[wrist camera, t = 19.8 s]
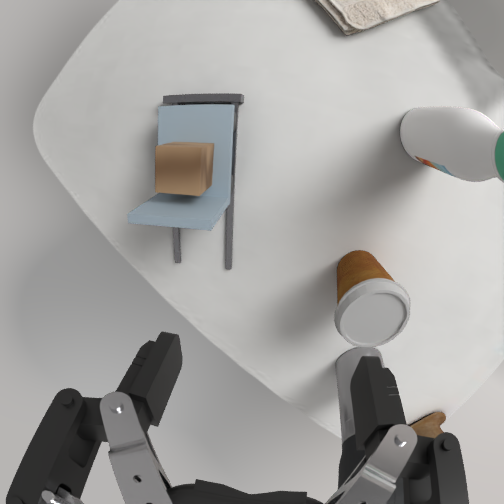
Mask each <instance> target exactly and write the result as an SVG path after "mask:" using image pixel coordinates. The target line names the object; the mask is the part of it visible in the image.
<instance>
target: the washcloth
mask: <svg viewBox="0 0 504 504" xmlns="http://www.w3.org/2000/svg"><path fill="white" fill-rule="evenodd" d="M315 1H316V2H317V3H318V4H319V5H320V6H321V7H322V8H323V9H324V10H325V11H326V12H327V14H328V15H329V16H330V17H331V19H332V20H333V21H334V22H335V23H336V24H337V25H338V27H339V28H340V29H341V30H342V31H343V32H344V34H345V35H350V34H354V33H356V32H361V31H362V30H366V29H370V28H373V27H375V26H378V25H380V24H383V23H385V22H387V21H390V20H392V19H395V18H398V17H400V16H403V15H406V14H408V13H411V12H413V11H416V10H419V9H422V8H426V7H429V6H431V5H434V4H436V3H438V2H439V1H440V0H315Z"/></svg>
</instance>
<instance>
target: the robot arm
mask: <svg viewBox="0 0 504 504" xmlns="http://www.w3.org/2000/svg"><path fill="white" fill-rule="evenodd" d="M181 367H182V352H181V345H180V338H179V335H177V334H172V333H166V332H161V333H160V335H159V336H158V338H157V340H156V342H154V341H150V340H149V341H148V342H147V343H146V344H144V345H143V346H142V347H141V348H140V350H139V351H138V353H137V355H136V358H134V360H133V362H132V365H130V367H129V369H128V371H127V372H126V374H125V376H124V378H123V380H122V381H121V383H120V385H119V387H118V388H117V390H116V391H115V392H112V393H109V394H107V395H105V396H104V397H103V398H88V397H82V396H81V394H80V393H79V392H78V391H77V390H75V389H72V388H67V389H63V390H61V391H60V392H58V393H57V395H56V396H55V398H54V400H53V401H52V403H51V405H50V407H49V408H48V410H47V412H46V414H45V416H44V418H43V419H42V421H41V423H40V425H39V427H38V429H37V431H36V433H35V435H34V437H33V439H32V441H31V442H30V445H29V447H28V449H27V451H26V453H25V455H24V457H23V459H22V461H21V463H20V466H19V468H18V470H17V472H16V475H15V477H14V479H13V482H12V484H11V487H10V489H9V491H8V494H7V497H6V504H84V503H83V502H82V501H81V500H80V497H81V495H82V492H83V489H84V486H85V483H86V481H87V478H88V475H89V473H90V470H91V467H92V465H93V462H94V460H95V457H96V454H97V452H98V449H99V447H100V444H101V442H102V441H103V442H108V443H109V446H110V451H109V452H108V453H109V459H110V462H111V465H112V468H113V471H114V474H115V477H116V480H117V483H118V486H119V488H120V491H121V493H122V496H123V499H124V501H125V504H323V503H322V502H320V501H317V500H316V499H313V498H310V497H307V492H288V491H276V492H269V493H261V494H247V493H244V492H241V491H239V490H236V489H234V488H231V487H228V486H225V485H223V484H218V483H213V482H207V481H203V480H198V479H196V482H195V484H183V485H179V486H175V487H172V486H171V484H170V481H169V479H168V478H167V476H166V474H165V472H164V470H163V468H162V466H161V464H160V462H159V459H158V457H157V455H156V452H155V450H154V448H153V445H152V443H151V440H150V438H149V435H148V433H147V431H148V429H149V426H150V425H154V426H158V425H159V423H160V420H161V418H162V415H163V412H164V410H165V407H166V405H167V402H168V400H169V397H170V395H171V392H172V390H173V388H174V385H175V383H176V380H177V378H178V375H179V373H180V370H181ZM336 376H337V387H338V397H339V408H340V421H341V433H342V456H341V459H340V464H339V481H338V490H337V491H336V492H335V493H334V494H333V495H332V496H331V498H330V499H329V500H328V501H327V502H326V503H325V504H469V500H468V491H467V483H466V476H465V470H464V464H463V459H462V454H461V449H460V444H459V441H458V439H457V438H456V437H455V436H454V435H453V434H451V433H448V432H445V433H441V434H439V435H438V436H437V437H436V438H431V437H425V436H420V435H417V434H416V433H415V431H414V430H413V429H412V428H411V427H410V426H408V425H407V424H406V420H405V416H404V412H403V407H402V403H401V399H400V395H399V392H398V388H397V384H396V380H395V377H394V375H393V374H392V372H391V371H390V370H389V369H388V368H385V366H384V363H383V359H382V356H381V353H380V352H379V351H378V350H376V349H375V348H372V347H371V348H369V347H358V348H354V349H351V350H349V351H347V352H346V353H344V354H343V355H342V356H341V357H340V358H339V359H338V360H337V362H336Z"/></svg>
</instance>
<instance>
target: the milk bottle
mask: <svg viewBox="0 0 504 504" xmlns="http://www.w3.org/2000/svg"><path fill="white" fill-rule="evenodd" d="M400 137H401V141H402V144H403V147H404V149H405V150H406V152H407V153H408V154H409V155H410V156H411V157H412V158H413V159H415V160H416V161H418V162H421V163H423V164H425V165H428V166H430V167H433V168H435V169H437V170H440V171H442V172H444V173H447V174H449V175H451V176H454V177H457V178H459V179H462V180H466V181H471V182H480V181H485V180H488V179H491V178H495V177H498V178H499V179H500V180H501V181H502V182H504V128H503V129H501V128H499V127H498V126H497V125H496V124H495V123H494V122H493V121H491V120H490V119H489V118H488V117H487V116H485V115H484V114H482V113H480V112H478V111H476V110H473V109H469V108H463V107H446V106H436V107H418V108H414V109H412V110H410V111H409V112H408V113H407V114H406V115H405V116H404V118H403V120H402V123H401V127H400Z"/></svg>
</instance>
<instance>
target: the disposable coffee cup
mask: <svg viewBox="0 0 504 504" xmlns="http://www.w3.org/2000/svg"><path fill="white" fill-rule="evenodd" d="M337 303H338V304H337V308H336V311H335V320H334V321H335V326H336V328H337V330H338V332H339V333H340V334H341V335H342V336H343V337H344V339H345V340H346V341H347V342H349V343H351V344H352V345H354V346H358V347H369V348H371V347H376V346H380V345H383V344H385V343H388V342H389V341H391V340H393V339H394V338H395V337H396V336H397V335H399V334H400V333H401V332H402V330H403V329H404V328H405V326H406V324H407V322H408V320H409V316H410V298H409V295H408V293H407V291H406V290H405V289H404V287H403V286H401V285H400V284H398V283H397V282H395V281H394V280H393V279H392V278H391V276H390V275H389V274H388V273H387V272H386V270H385V269H384V268H383V267H382V266H381V265H380V263H379V262H378V261H377V260H376V259H375V258H374V256H373V255H372V254H370V253H369V252H366V251H361V250H358V251H353V252H350V253H348V254H347V255H345V256H344V257H343V258H342V259H341V261H340V262H339V264H338V267H337Z"/></svg>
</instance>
